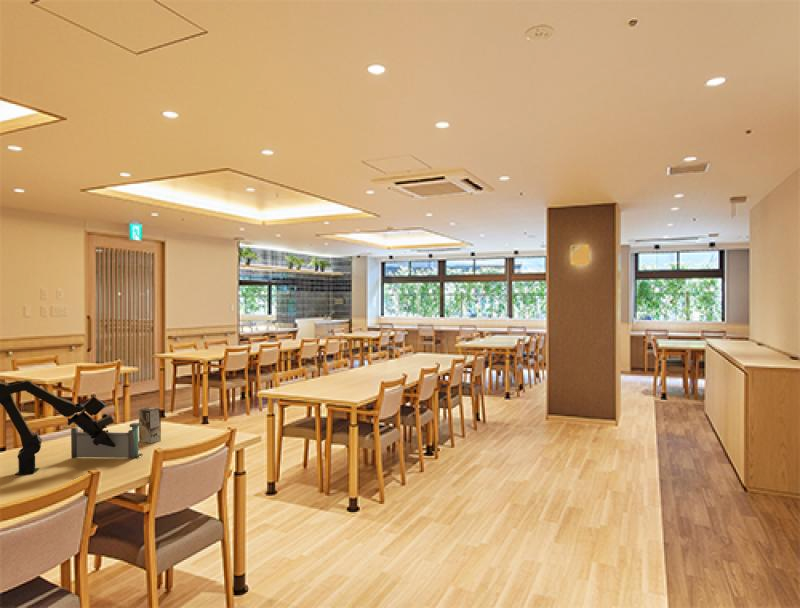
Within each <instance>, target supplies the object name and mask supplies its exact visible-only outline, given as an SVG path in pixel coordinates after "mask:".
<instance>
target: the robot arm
mask: <svg viewBox="0 0 800 608" xmlns="http://www.w3.org/2000/svg"><path fill="white" fill-rule="evenodd" d="M21 392H27V393H28V394H31V396H34V397H36V398H38V399H39V400H41V401H42V402H45V403H47V404H48V405H50V406H51V407H53V408H54V409H55V410H56V411H57V412H58V413H59V414H61V415H62V416H63V417H65V418H67V426H70V425H72V424H73V423H74V424H75V426H76V427H78V428H80V429H81V430H82V432H84V433H85V432H86V433H87V434H88V435H89V436H91V438H92V439H93V444H95V445H96V446H97V445H98V444H102V445H107V446H111V447H115V446H116V445H115V444H114V442H113V441H112V440H111V439H110V437H109V430H108V429H107V426H109V425H112V424H114V423H115V420H114V418H113V416H112V414H106V413H103V414H102V415H101V418H100V419H98V420H97V419H95V418H94V419H93V418H92V416H97V415H99V413H100V412H102V410H103V409H104V408H106V407H107V405H106V404H105V403H104V402H103V401H102V400H101V399H100V398H99V399H98V397H96V396H95V395H92V396H91V397H90V398H89V399H88V401H86V402H85V403H84V404H83V403H75V402H74V401H72V400H69V399H65V398H63V397H59V396H57V395H55V394H53V393H51V392H50V391H48V390H47V389H45V388H43V387H41V386H39V385H37V384H36V383H34V382H32V380H30V379H26V380H20V381H12V382H7V381H0V405H1V406H2V407H3V409H4V410H5V412H6V414H7V415H8V417H9V419H10V421H11V422H12V424H13V426H14V428H15V430H16V432H17V433H18V435H19V438H20V442H21V445H22V448H21V449H19V450H18V454H17V459H18V463H17V464H18V471H16V472H15V473H14V475H15V476H21V474H23V475H32V474H34V473H36V472H38V470H39V467H36V454H37V453H39V452H40V450H41V447H42V441H43V439H42V438H41V437H40V435H39V432H38V431H36V432H33V431H32V429H30V427H29V425H28V423H27V422H26V419H25V418H24V415H23V414H22V412H21V411H20V409H19V407H18V405H17V404H16V401H15V399H14V394H16V393H21ZM104 429H105V430H104Z"/></svg>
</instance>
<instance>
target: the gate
mask: <svg viewBox="0 0 800 608" xmlns="http://www.w3.org/2000/svg"><path fill="white" fill-rule="evenodd" d="M108 432H109V431H108ZM70 435H71V436H70V438H71V439H70V440H71V441H70V443H71V445H70V447H71V448H70V450H71V452H70V454H71V455H70V456H71V459H74V458H99V459H100V458H101V459H105V458H108V459H109V458H111V459H113V458H114V459H115V458H116V459H122V458H123V459H134V458H135V430H132V429H130V430H128V432H109V437H110V439H111V440H112V441H113V442H114V444H115V445H116V446H115V447H111V446H107V445H102V444H98V445H97V446H96V445H95V444H93V439H92V438H91V436H89V435H88V434H87V433H86V432H85V433H84V432H83V431H80V432H79V427H78V426H76V427H75V426H74V427H71V428H70Z"/></svg>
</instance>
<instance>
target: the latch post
mask: <svg viewBox="0 0 800 608" xmlns="http://www.w3.org/2000/svg"><path fill="white" fill-rule="evenodd" d="M139 426H140V423H139V422H133V423H130V424H129V428H131V430H135V457H139V456H141V455H142V456H143V453H140V452H139ZM142 456H141V457H142ZM139 458H140V457H139Z"/></svg>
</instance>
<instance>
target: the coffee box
mask: <svg viewBox="0 0 800 608" xmlns="http://www.w3.org/2000/svg"><path fill="white" fill-rule="evenodd" d="M161 416H162V415H161V408H158V407H157V408H156V407H150V406H149V407H143V408H140V409H138V423H140V426H138V442H141V441H142V442H141V443H146V442H148V443H147V444H153V442H154V443H156V442H160V441H162V429H161V428H162V427H161V425H162V424H161V423H162V421H161V420H162V418H161Z"/></svg>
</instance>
